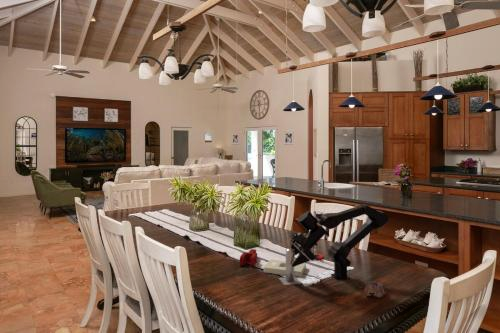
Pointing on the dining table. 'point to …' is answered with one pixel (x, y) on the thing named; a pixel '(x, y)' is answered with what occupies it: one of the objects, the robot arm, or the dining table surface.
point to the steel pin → (290, 264)
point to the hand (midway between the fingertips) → (289, 262)
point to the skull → (374, 289)
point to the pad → (289, 282)
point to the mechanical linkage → (249, 258)
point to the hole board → (283, 268)
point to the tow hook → (317, 254)
